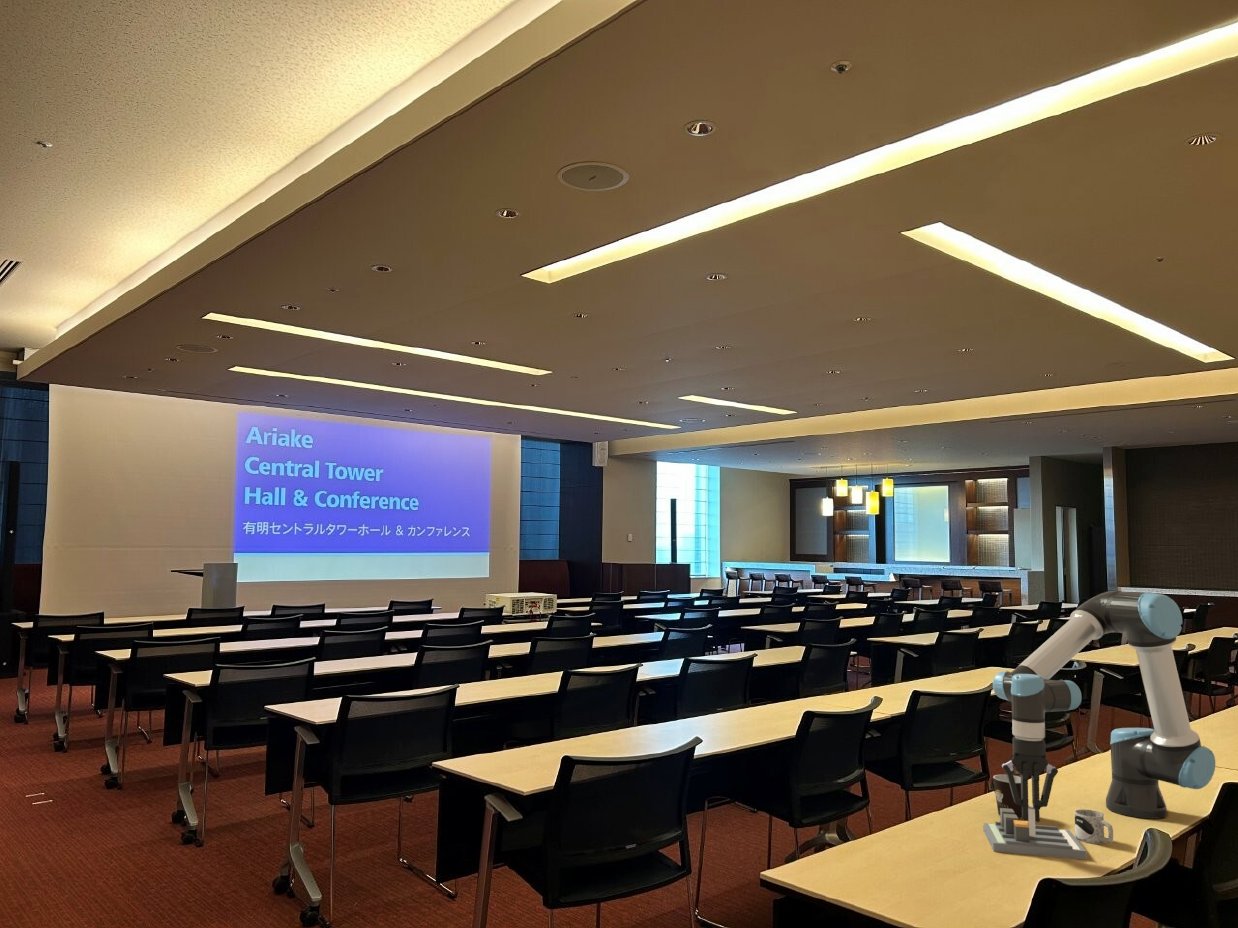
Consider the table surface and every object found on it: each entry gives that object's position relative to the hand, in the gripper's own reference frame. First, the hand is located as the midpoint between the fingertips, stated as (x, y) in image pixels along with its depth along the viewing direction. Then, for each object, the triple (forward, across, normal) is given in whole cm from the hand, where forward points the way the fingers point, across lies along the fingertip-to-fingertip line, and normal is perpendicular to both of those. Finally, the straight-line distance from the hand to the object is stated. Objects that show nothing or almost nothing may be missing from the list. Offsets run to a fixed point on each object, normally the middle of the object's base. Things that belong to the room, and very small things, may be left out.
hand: (1031, 834), depth 221 cm
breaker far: (+2, +4, -10) cm, 11 cm away
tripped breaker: (+2, +2, 0) cm, 3 cm away
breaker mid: (+2, +4, -5) cm, 7 cm away
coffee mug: (+4, 0, -31) cm, 31 cm away
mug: (+4, -18, -12) cm, 22 cm away
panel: (+4, -1, -5) cm, 7 cm away
